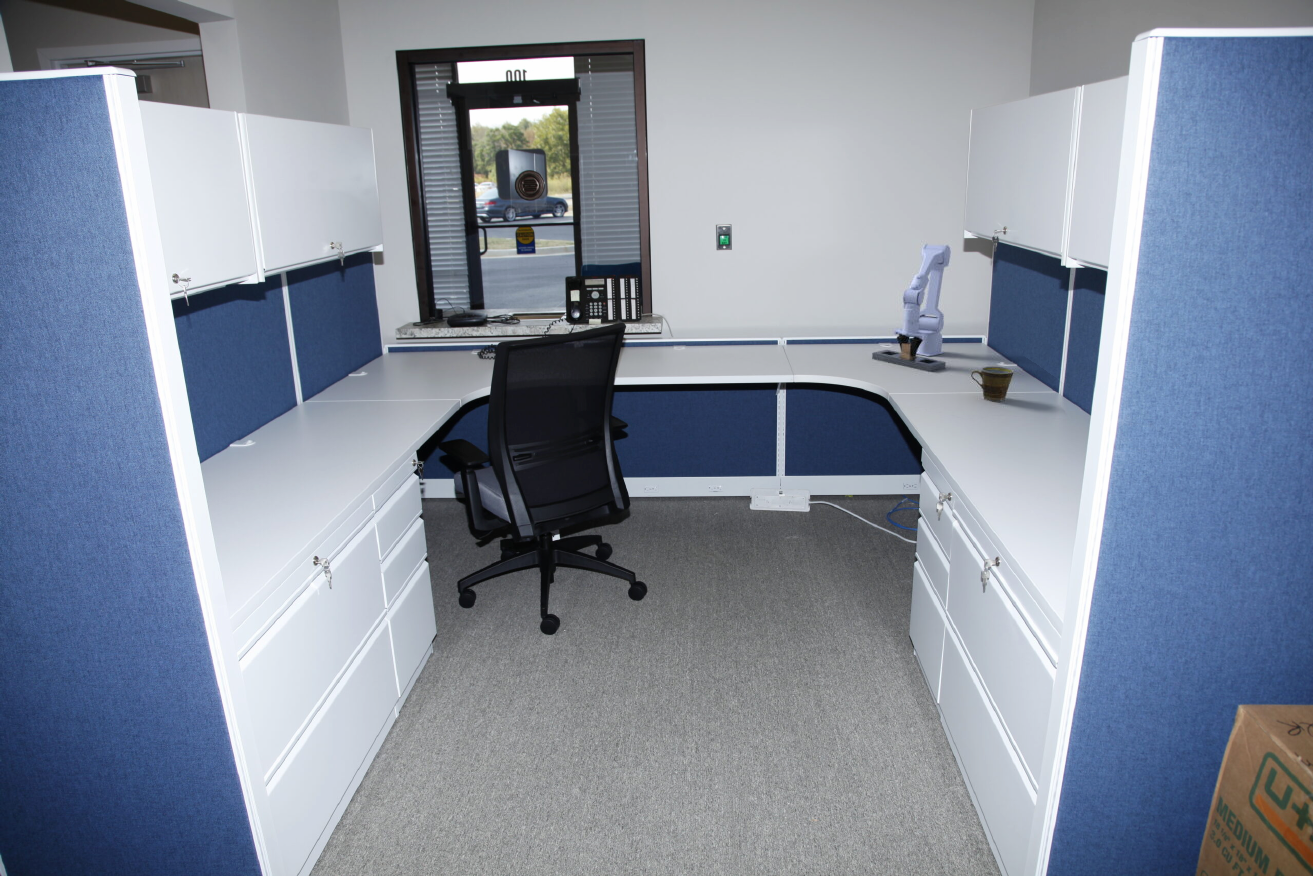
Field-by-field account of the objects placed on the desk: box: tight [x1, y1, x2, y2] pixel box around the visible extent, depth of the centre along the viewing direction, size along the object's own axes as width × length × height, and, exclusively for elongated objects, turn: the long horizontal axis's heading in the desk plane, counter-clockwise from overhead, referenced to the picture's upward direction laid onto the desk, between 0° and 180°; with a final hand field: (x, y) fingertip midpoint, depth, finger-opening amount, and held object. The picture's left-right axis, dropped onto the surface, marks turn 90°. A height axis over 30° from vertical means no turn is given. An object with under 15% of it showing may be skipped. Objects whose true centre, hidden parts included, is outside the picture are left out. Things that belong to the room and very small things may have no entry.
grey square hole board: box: [871, 349, 947, 373], centre depth 332 cm, size 9×28×2 cm, turn 36°
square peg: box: [900, 341, 917, 359], centre depth 331 cm, size 4×4×7 cm
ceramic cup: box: [971, 366, 1014, 402], centre depth 282 cm, size 13×10×10 cm
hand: (908, 354), depth 331 cm, fingers closed on square peg, 4 cm apart
